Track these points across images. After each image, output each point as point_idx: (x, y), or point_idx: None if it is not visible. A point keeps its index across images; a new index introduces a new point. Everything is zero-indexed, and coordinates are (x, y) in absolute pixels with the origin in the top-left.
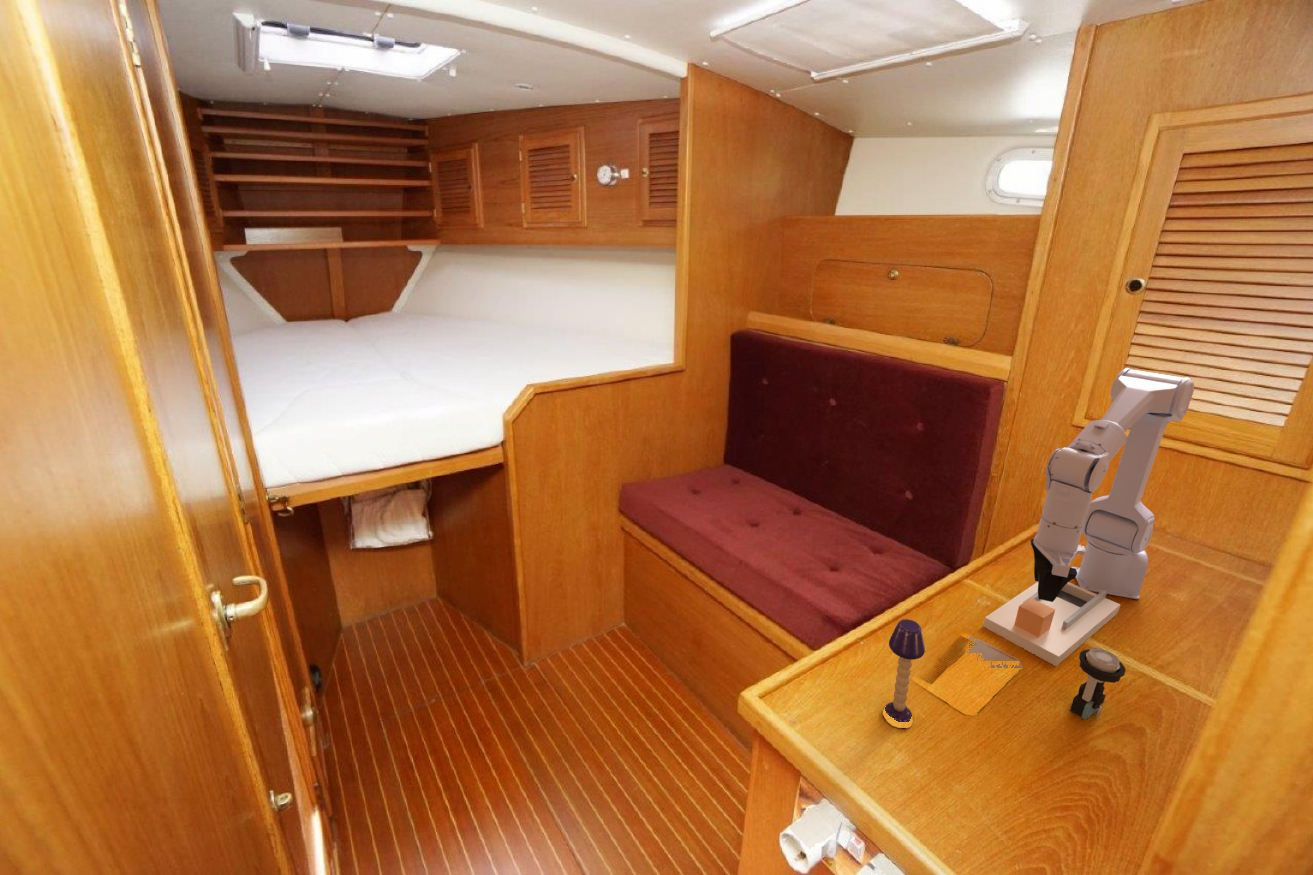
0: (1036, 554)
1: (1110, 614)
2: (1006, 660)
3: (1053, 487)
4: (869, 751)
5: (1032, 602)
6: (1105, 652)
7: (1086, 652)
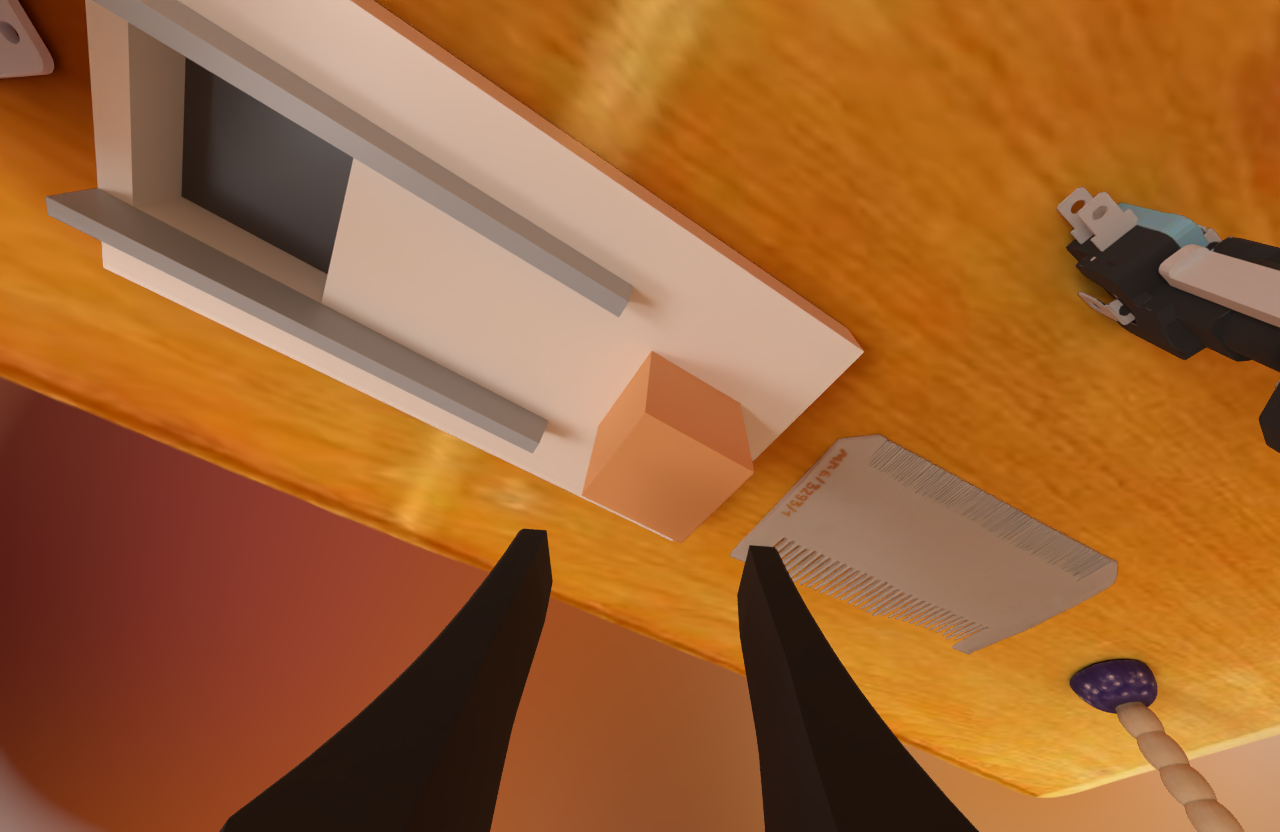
0: (485, 827)
1: None
2: (853, 476)
3: None
4: (1204, 708)
5: (623, 494)
6: None
7: None
